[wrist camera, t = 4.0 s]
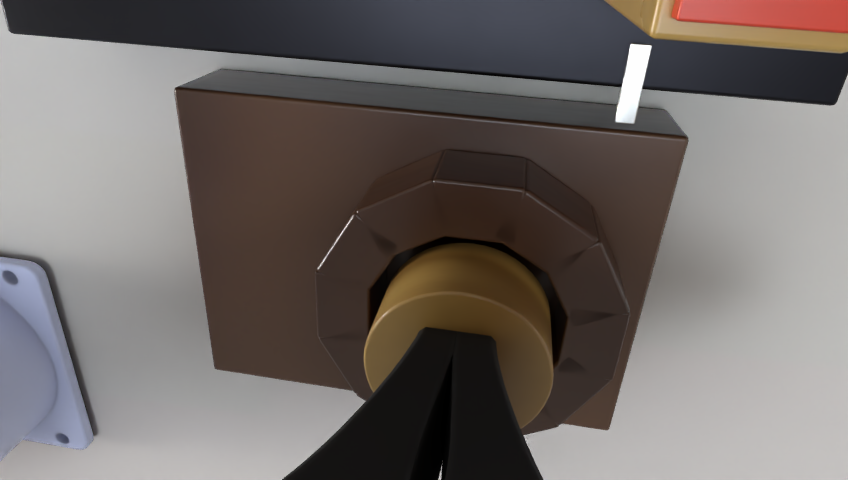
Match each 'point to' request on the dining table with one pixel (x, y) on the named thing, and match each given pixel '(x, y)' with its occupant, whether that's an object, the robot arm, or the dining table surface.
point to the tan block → (744, 22)
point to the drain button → (469, 317)
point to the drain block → (418, 218)
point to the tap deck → (452, 42)
